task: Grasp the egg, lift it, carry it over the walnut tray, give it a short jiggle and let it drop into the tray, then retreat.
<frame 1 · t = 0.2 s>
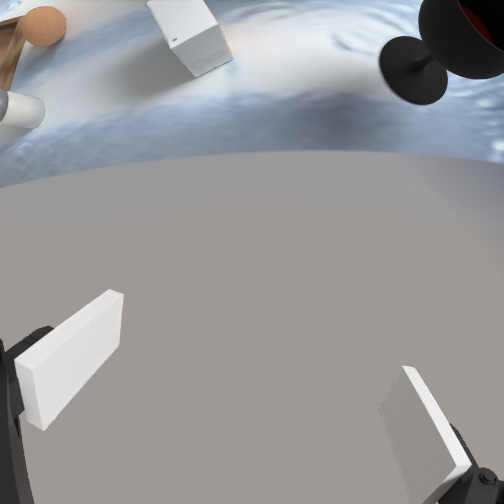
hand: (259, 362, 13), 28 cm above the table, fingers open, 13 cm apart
small box: (202, 47, 36), on the table
egg: (60, 34, 36), on the table
shaker: (34, 113, 39), on the table
wine glass: (414, 69, 34), on the table
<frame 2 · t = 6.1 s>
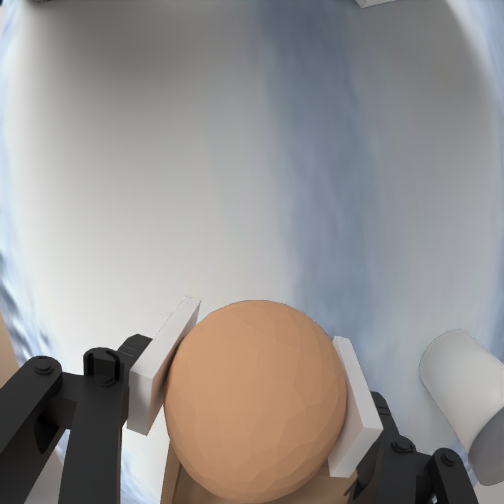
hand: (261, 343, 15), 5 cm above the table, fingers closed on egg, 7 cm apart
egg: (262, 336, 16), point 4 cm above the table, touching gripper
shaker: (448, 360, 20), on the table
tray: (278, 492, 23), on the table
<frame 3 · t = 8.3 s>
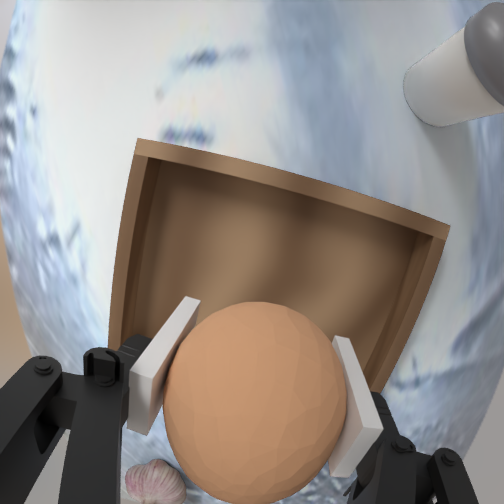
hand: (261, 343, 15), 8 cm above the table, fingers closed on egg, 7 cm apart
egg: (261, 338, 16), point 7 cm above the table, touching gripper
shaker: (433, 93, 18), on the table
tray: (266, 289, 22), on the table
garlic bulb: (162, 472, 29), on the table
when the fingers open (2 cm above the table, at t = 10.5 s): egg drops 1 cm, resting on tray.
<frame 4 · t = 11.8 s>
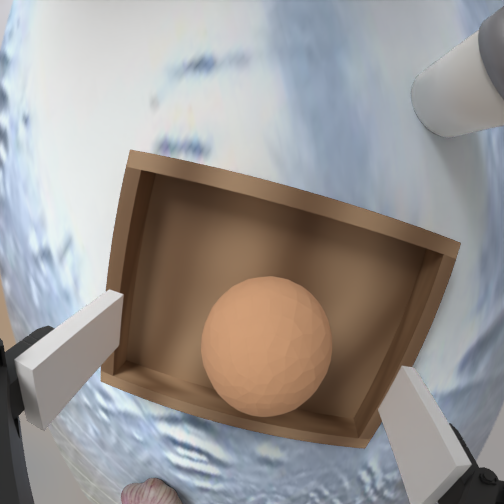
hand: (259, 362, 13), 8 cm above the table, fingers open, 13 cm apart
egg: (269, 311, 21), resting on tray
shaker: (442, 102, 17), on the table
tray: (266, 310, 21), on the table
garlic bulb: (159, 490, 27), on the table
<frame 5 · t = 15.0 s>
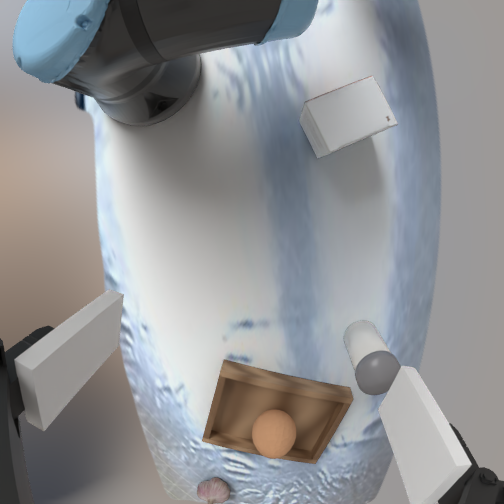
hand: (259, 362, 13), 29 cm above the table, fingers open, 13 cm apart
small box: (334, 128, 38), on the table
egg: (274, 414, 47), resting on tray
shaker: (360, 336, 43), on the table
tray: (274, 412, 48), on the table
garlic bulb: (215, 483, 54), on the table
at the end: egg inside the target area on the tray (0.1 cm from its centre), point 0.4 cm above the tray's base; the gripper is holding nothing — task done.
